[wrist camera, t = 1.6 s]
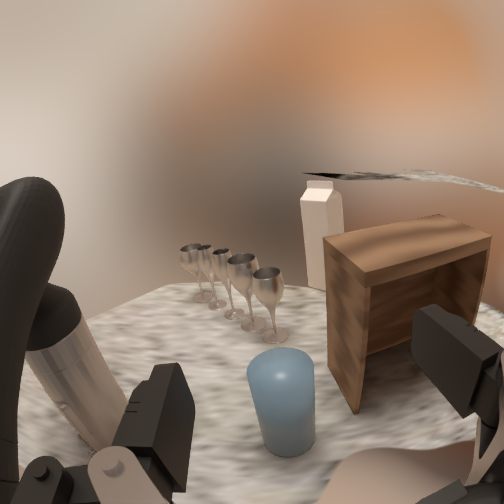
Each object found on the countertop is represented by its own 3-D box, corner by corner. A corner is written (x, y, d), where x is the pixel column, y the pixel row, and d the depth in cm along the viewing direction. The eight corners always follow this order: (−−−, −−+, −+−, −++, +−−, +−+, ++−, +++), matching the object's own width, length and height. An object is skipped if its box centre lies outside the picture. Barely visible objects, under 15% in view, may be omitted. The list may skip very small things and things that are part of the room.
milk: (323, 275, 66) (314, 178, 58) (346, 280, 61) (340, 178, 54) (308, 287, 62) (297, 183, 54) (331, 293, 58) (324, 183, 50)
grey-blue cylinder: (302, 463, 25) (296, 400, 21) (254, 447, 28) (234, 381, 24) (322, 424, 30) (323, 354, 25) (278, 412, 33) (266, 342, 29)
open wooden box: (461, 365, 31) (491, 235, 24) (353, 414, 30) (364, 272, 23) (425, 330, 41) (439, 214, 34) (327, 365, 39) (322, 237, 32)
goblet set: (297, 332, 48) (290, 260, 44) (273, 350, 45) (262, 276, 40) (206, 288, 69) (194, 235, 64) (186, 299, 66) (171, 244, 61)
